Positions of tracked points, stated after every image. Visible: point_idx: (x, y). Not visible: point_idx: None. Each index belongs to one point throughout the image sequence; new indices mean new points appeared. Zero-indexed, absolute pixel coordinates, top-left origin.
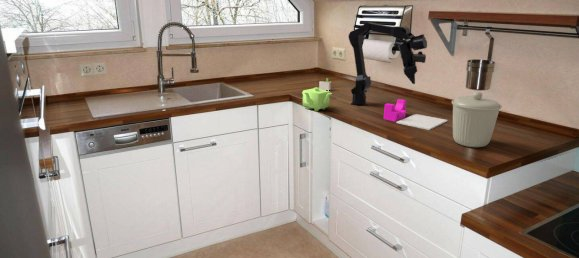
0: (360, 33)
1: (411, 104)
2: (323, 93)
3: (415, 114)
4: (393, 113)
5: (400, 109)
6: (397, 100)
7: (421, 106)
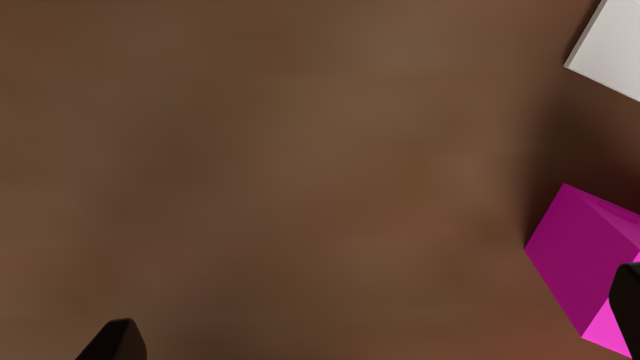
0: None
1: (70, 128)
2: None
3: (599, 72)
4: None
5: None
6: None
7: (112, 14)
